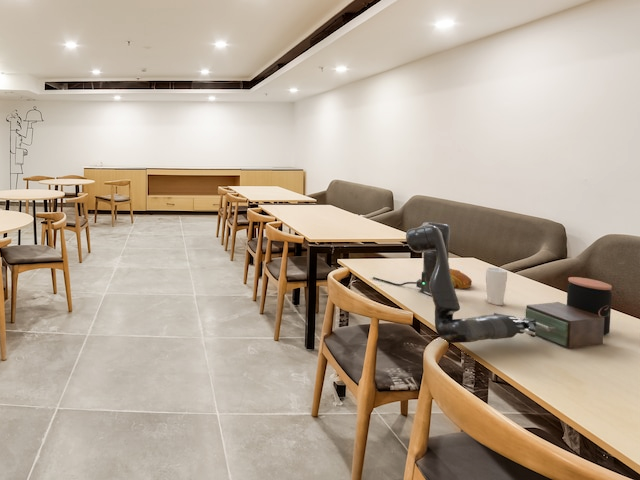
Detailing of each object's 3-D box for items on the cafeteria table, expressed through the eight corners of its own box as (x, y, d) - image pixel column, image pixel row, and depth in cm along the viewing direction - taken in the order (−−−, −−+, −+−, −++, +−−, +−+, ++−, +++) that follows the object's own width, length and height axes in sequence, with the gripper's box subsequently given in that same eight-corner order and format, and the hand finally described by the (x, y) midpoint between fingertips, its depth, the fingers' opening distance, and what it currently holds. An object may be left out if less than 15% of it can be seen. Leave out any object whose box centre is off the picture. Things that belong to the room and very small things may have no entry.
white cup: (509, 307, 154) (511, 272, 154) (491, 305, 155) (492, 271, 155) (498, 300, 161) (499, 267, 160) (480, 299, 162) (482, 266, 162)
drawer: (554, 347, 122) (556, 324, 121) (515, 330, 133) (516, 309, 133) (596, 341, 125) (597, 319, 125) (554, 325, 137) (555, 305, 136)
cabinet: (569, 348, 122) (570, 321, 122) (525, 330, 135) (526, 305, 134) (603, 344, 125) (604, 317, 125) (556, 326, 138) (558, 301, 137)
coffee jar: (604, 339, 129) (607, 289, 128) (561, 325, 138) (563, 279, 138) (613, 332, 134) (616, 284, 133) (571, 319, 143) (573, 275, 142)
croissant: (428, 285, 184) (427, 270, 183) (445, 276, 190) (444, 262, 189) (461, 295, 170) (460, 279, 170) (479, 285, 177) (478, 269, 176)
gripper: (517, 325, 117) (557, 320, 121) (474, 307, 130) (511, 303, 134) (516, 347, 117) (556, 342, 121) (473, 327, 130) (511, 323, 134)
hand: (533, 322), depth 127 cm, fingers closed
